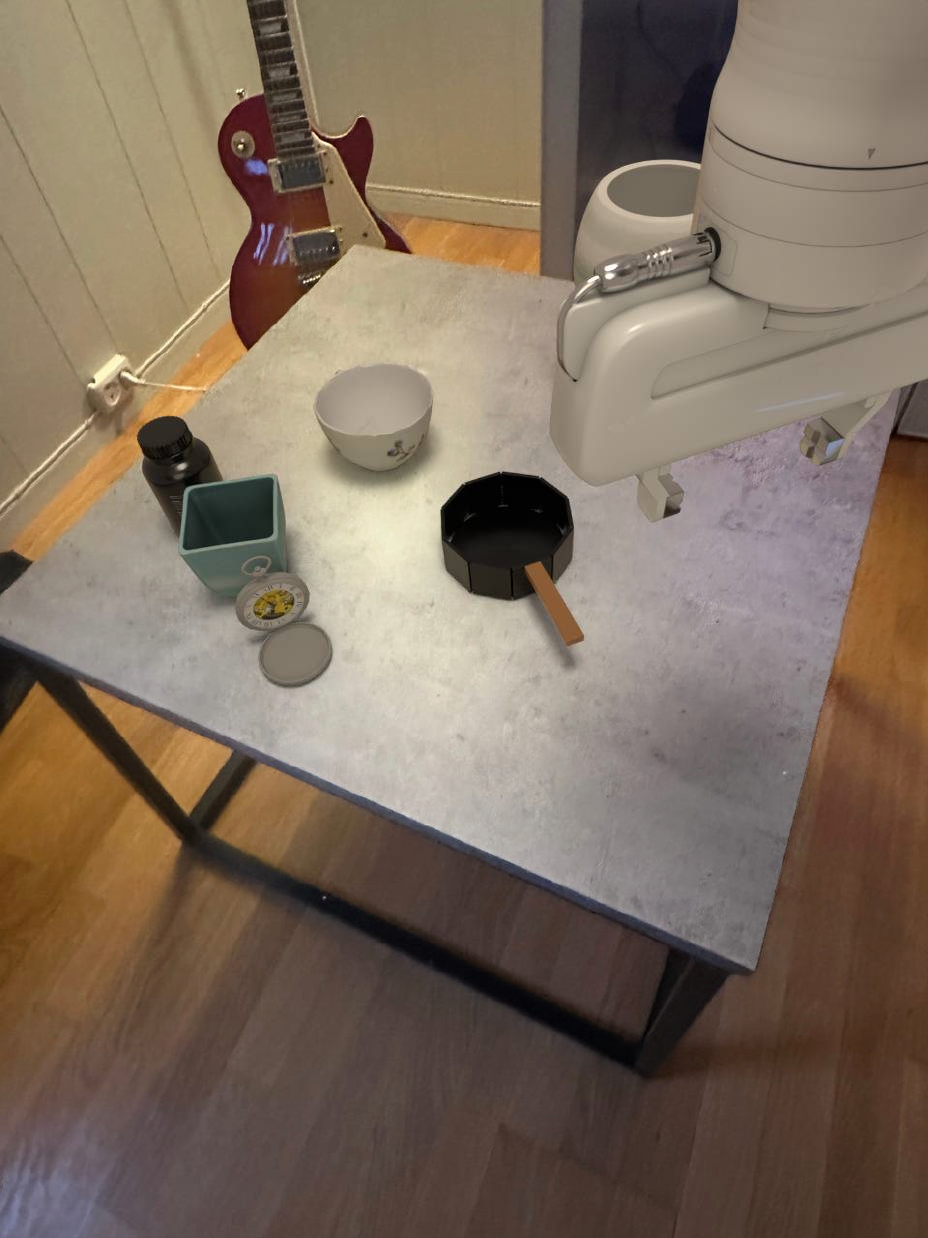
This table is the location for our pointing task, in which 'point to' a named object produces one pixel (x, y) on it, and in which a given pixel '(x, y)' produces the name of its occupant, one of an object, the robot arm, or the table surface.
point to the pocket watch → (283, 626)
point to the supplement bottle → (174, 463)
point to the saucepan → (511, 541)
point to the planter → (636, 212)
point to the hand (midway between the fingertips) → (740, 482)
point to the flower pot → (233, 531)
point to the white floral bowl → (375, 413)
